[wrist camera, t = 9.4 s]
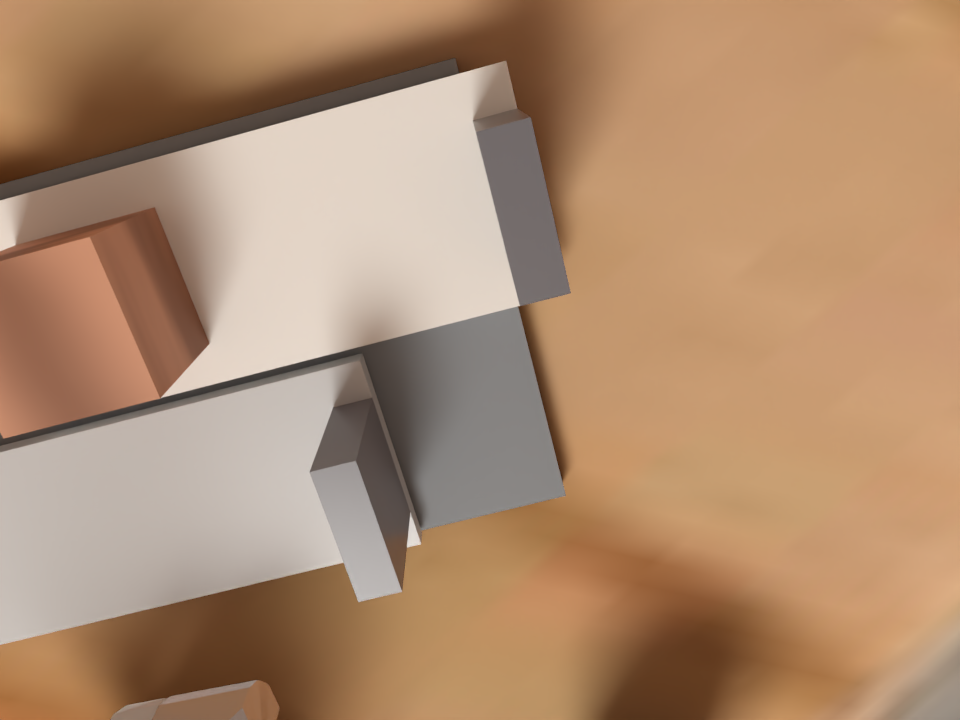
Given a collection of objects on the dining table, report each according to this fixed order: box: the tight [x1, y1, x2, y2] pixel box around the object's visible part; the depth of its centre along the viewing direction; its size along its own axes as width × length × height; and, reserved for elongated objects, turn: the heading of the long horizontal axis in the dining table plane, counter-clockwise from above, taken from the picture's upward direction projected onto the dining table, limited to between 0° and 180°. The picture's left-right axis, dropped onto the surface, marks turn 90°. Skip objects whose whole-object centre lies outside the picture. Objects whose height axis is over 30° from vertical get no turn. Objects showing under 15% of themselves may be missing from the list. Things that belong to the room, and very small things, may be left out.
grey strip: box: [0, 353, 422, 645], centre depth 29 cm, size 20×8×6 cm, turn 105°
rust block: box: [0, 207, 210, 439], centre depth 25 cm, size 5×5×5 cm
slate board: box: [0, 58, 566, 530], centre depth 30 cm, size 28×17×1 cm, turn 105°
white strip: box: [0, 61, 571, 398], centre depth 25 cm, size 20×8×6 cm, turn 105°
